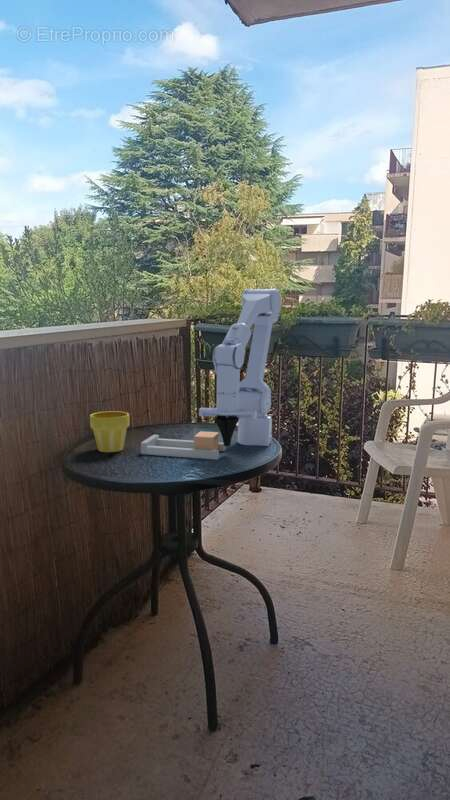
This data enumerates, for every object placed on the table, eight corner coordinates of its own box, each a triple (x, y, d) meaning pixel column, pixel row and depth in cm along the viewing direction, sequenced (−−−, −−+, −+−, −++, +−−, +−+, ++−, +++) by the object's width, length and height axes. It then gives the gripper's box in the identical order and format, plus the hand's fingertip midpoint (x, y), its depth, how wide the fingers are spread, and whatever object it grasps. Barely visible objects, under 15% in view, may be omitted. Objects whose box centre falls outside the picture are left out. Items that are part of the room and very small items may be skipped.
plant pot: (88, 446, 147) (87, 411, 145) (125, 443, 151) (125, 409, 149) (93, 456, 137) (92, 418, 136) (133, 452, 141) (132, 416, 139)
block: (218, 451, 140) (218, 432, 139) (213, 457, 134) (213, 437, 133) (200, 449, 141) (200, 431, 140) (194, 455, 135) (194, 436, 134)
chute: (227, 451, 143) (227, 437, 143) (215, 466, 130) (215, 450, 129) (156, 446, 147) (156, 432, 147) (137, 460, 134) (137, 444, 133)
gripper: (195, 393, 131) (195, 447, 133) (254, 396, 128) (252, 450, 130) (202, 389, 138) (202, 440, 140) (258, 392, 135) (257, 444, 137)
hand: (227, 445), depth 136 cm, fingers closed
